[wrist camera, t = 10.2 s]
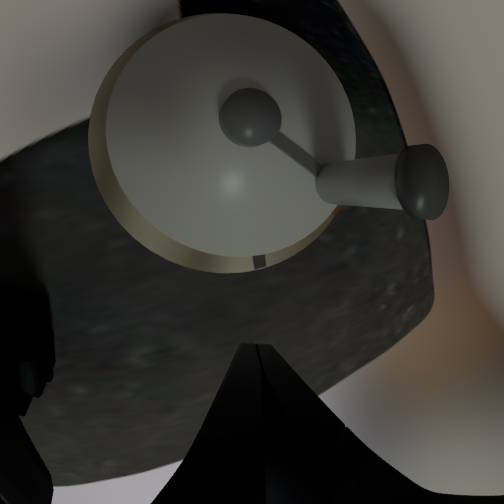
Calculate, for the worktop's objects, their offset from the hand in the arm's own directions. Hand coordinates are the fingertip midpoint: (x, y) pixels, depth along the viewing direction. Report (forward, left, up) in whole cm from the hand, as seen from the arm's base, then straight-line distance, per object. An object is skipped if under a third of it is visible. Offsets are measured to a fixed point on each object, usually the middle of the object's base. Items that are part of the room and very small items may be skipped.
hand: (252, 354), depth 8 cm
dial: (0, +9, -8) cm, 12 cm away
